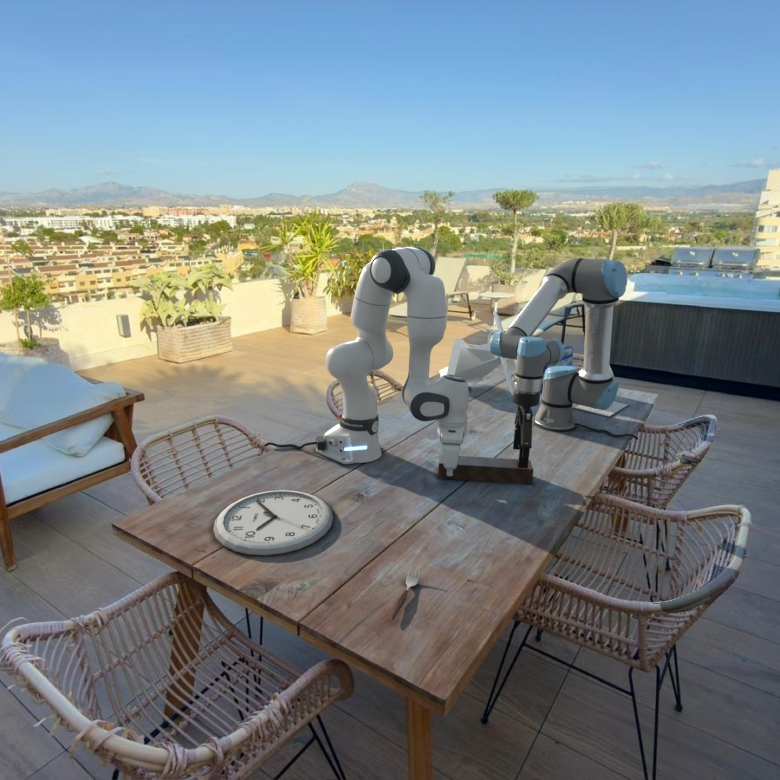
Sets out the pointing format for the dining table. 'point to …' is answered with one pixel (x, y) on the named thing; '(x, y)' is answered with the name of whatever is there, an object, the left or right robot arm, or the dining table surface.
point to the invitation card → (608, 412)
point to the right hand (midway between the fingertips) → (519, 458)
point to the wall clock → (273, 522)
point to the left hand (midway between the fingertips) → (449, 469)
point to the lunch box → (561, 361)
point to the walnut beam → (488, 470)
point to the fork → (410, 583)
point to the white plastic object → (476, 361)
